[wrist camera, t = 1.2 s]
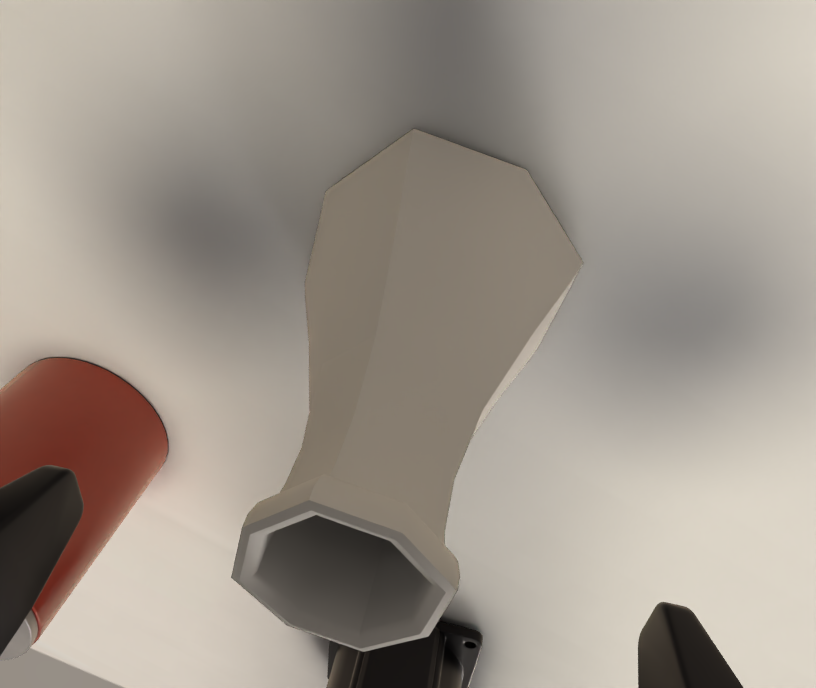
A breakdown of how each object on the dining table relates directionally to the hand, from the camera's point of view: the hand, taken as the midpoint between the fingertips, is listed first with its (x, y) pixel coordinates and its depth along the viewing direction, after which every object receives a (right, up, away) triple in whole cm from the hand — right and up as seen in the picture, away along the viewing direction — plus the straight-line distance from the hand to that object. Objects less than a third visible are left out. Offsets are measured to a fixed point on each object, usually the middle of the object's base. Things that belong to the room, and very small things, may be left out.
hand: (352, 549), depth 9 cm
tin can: (-11, 0, +14) cm, 18 cm away
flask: (+2, +5, +8) cm, 10 cm away
